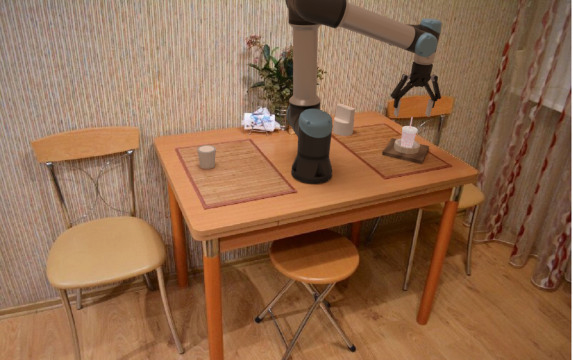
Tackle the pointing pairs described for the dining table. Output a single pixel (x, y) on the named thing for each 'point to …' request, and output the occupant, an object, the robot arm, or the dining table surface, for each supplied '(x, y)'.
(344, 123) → the cylinder with rectangular tab
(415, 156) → the holder
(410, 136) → the beverage cup
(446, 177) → the dining table surface
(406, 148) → the ring
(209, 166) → the gray tapered cup
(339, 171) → the dining table surface
